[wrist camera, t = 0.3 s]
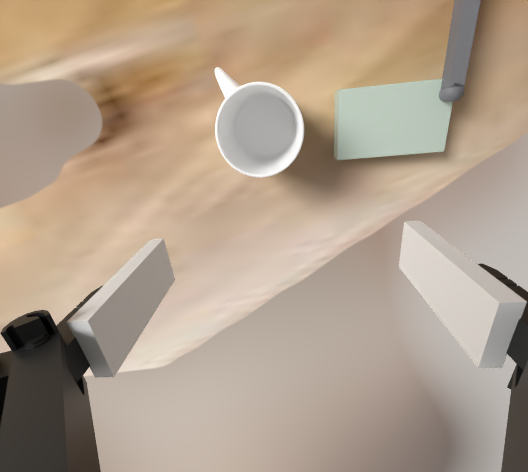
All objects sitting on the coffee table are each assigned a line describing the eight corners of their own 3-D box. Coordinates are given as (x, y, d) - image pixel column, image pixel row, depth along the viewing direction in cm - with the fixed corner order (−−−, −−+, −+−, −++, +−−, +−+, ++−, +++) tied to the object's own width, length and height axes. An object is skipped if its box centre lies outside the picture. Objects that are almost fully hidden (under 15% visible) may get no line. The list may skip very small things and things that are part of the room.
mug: (254, 48, 32) (243, 20, 22) (310, 134, 36) (321, 142, 26) (201, 98, 34) (171, 91, 25) (258, 173, 38) (252, 193, 28)
